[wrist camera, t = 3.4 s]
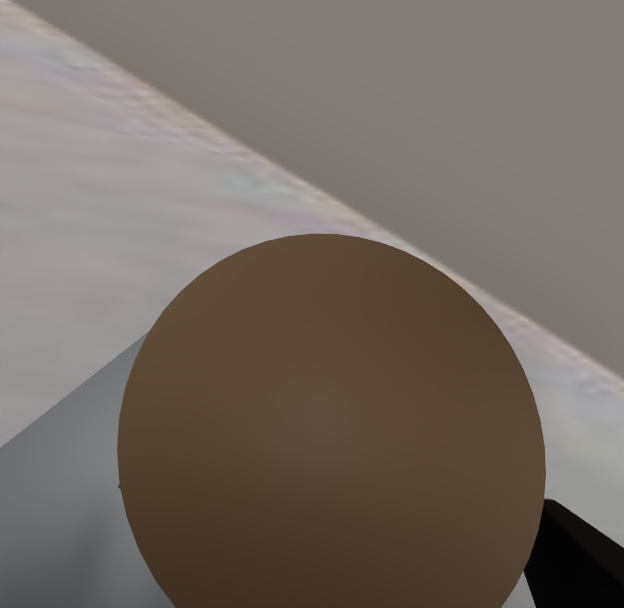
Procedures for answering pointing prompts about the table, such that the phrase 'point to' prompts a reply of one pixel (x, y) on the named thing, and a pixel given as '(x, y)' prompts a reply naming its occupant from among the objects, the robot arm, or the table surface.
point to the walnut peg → (330, 436)
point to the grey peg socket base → (72, 506)
